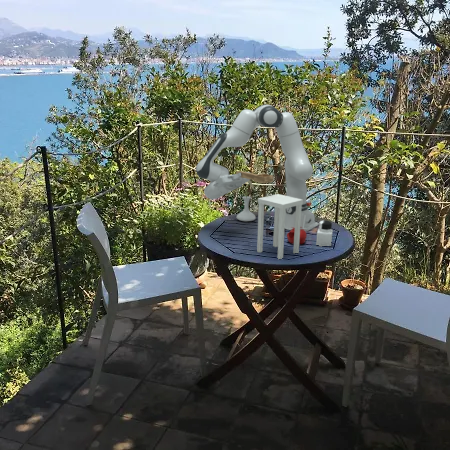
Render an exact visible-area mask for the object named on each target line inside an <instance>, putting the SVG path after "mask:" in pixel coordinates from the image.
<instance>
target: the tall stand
mask: <svg viewBox="0 0 450 450" xmlns="http://www.w3.org/2000/svg"><path fill="white" fill-rule="evenodd" d="M257 203H258V212H257V213H258V214H257V215H258V218H257V244H256V245H257V247H256V252H257V253H259V254H260V253H262V252H263V250H264V249H263V244H264V221H265V219H264V218H265V217H264V216H265V206H270V207H273V208H274V219H273V239H272V242H273V243H272V246H273V247H274V248H277V257H276V258H278V259H277V260H279V259H282V258H283V259H284V245H285V230H286V229H285V211H286V208H290V207H293V206H296V216H295V233H294V244H293V251H292V252H293V254H295V253H298V254H299V253H300V244H299V240H300V225H301V209H302V204H303V200H302V199H298V198H293V197H289V196H286V195H284V194H281V193H280V194H279V193H277V194H272V195H268V196H263V197H258V198H257ZM283 259H282V260H283Z"/></svg>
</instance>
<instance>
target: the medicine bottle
mask: <svg viewBox="0 0 450 450" xmlns="http://www.w3.org/2000/svg"><path fill="white" fill-rule="evenodd" d="M318 223H319V225H318V229H317V232H316V239H315V240H316V243H315V246H316V245H319V246H318V247H322V246H332V243H331V242H333V241H332V240H333V229H332V228H333V227H332V226H333V223H332V222H331V221H330V220H321V221H319V222H318Z"/></svg>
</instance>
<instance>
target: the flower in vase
mask: <svg viewBox="0 0 450 450" xmlns="http://www.w3.org/2000/svg"><path fill="white" fill-rule="evenodd" d="M247 183H248V184H247V186H246V189H245V194H244V195H245V196H242V199H243V201H244V207H243V210H242V211H241V212H239V213H238V214H237V215H236V219H237V220H239V221H242V222H252V221H255V220H256V219H257V216H256V215H255V214H254V213H253V212H251V211H250V209H249V204H250V200H251V199H252V198H251V196H248V195H249V194H250V192H249V191H248V192H247V190H248V187H249V186H250V187H251V188H252V190H254V189H255V186H254V185H253V182H252V180H249V181H248V182H247Z"/></svg>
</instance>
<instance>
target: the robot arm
mask: <svg viewBox="0 0 450 450" xmlns="http://www.w3.org/2000/svg"><path fill="white" fill-rule="evenodd" d="M259 126H260V127H261V126H262V127H265V128H268V129H269V128H274V129H275V130H276V133H277V137H278V140H279V144H280V146H281V150H282V153H283V154H284V157H285V161H284V172H285V174H284V176H285V183H286V195H285V196H289V197H293V198H298V199H302V200H303V204H302V209H301V225H300V227H302V228H300V229H304V231H305V232H308V231H311V230H312V229H314V228H316V227H317V226H318V227H319V222H318V221H315V220H316V219H315V217H316V216H315V214H314V213H313V212H312V211H310V210H309V208H308V207H310V206H312V205H311V204H312V203H311V202H307V194H308V188H307V183H306V180H307V181H308V180H309V179H310V178H311V177H312V176H313V173H314V168H313V166H312V163H311V162H310V161H311V160H310V159H309V157H308V153H307V152H306V149H305V147H304V144H303V141H302V137H301V133H300V130H299V126H298V124H297V122H296V119H295V117H294V115H293V113H291V112H288V111H284V112H280V111H279V109H278V108H276V107H275V106H273V105H271V104H261V105H259V106H258V107H257V108H255V109H253V110H251V109H247V108H245V109H243V110H241V112H240V113H238V115H237V117H236V118H235V120H234V122H233V123H232V125H231V127H230V128H229V129H228V130H227V131H226V132H223V133H221V134H219V136H218V137H217V139H216V140H215V141H214V142H213V144H212V145H211V146H210V148H209V149H208V150H207V152H206V153H205V154H204V155H203V157H202V159H200V160H199V161H198V163H197V164H196V167H195V172H196V174H197V176H198V177H199V178H201V179H203V180H208V181H210V182H209V184H208V185H207V186H206V187H205V188H204V190H203V192H204V196H206V197H207V199H210V200H216V199H220V198H222V197H223V196H224V195H226V194H229V193H230V192H232V191H234V190H237V189H238V188H241V187H243V185H245V184H246V183H248V181H249V180H250V181H252V180H251V179H247V178H242V177H241V176H242V173H238V174H236V173H235V174H230V172H229V171H230V170H229V169H228V168H226V166H222V165H220V164H218V163H215V162H214V160H215V159H216V158H217V157H218V155H219V153H220V152H221V151H222V150H223V149H225V148H230V147H231V148H239V147H243V146H245V145H246V144H247V143H248V142H249V140H250V138H251V136H252V134H253V133H254V130H255V129H256V128H257V127H259ZM247 172H248V173H251V172H250V171H247ZM295 216H296V206H293V207H290V208H286V211H285V230H289V231H291V229H293V228H291V227H294V228H295Z"/></svg>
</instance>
